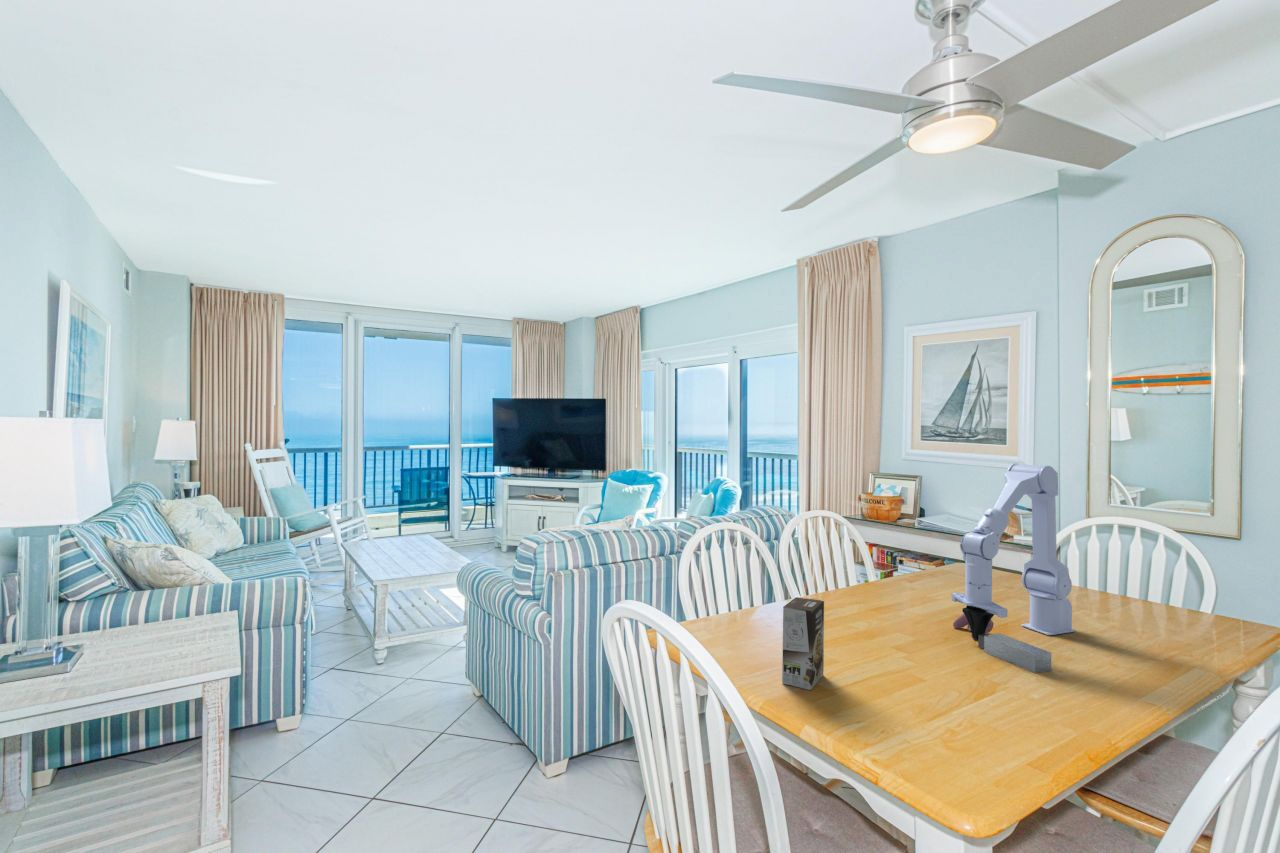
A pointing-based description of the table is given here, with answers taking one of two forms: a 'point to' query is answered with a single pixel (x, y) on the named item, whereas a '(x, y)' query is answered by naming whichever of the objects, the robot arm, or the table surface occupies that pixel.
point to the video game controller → (963, 622)
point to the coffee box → (803, 642)
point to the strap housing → (1017, 652)
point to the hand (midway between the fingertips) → (977, 638)
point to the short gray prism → (981, 640)
